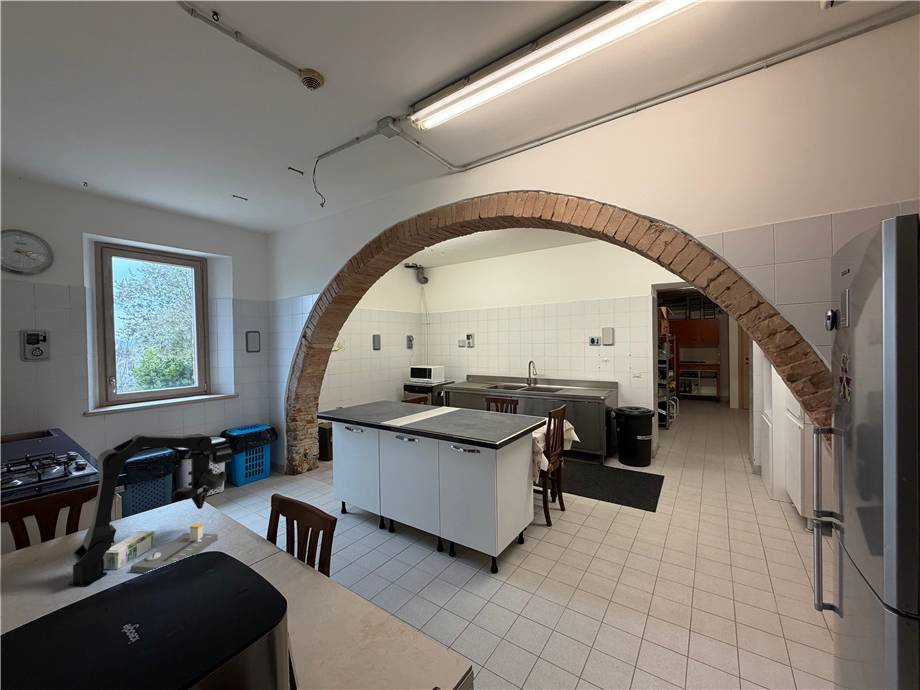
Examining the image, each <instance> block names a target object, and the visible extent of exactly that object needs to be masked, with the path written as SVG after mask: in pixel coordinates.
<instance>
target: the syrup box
mask: <svg viewBox="0 0 920 690" xmlns="http://www.w3.org/2000/svg"><path fill="white" fill-rule="evenodd" d="M154 547H155V531H153V530H139V531H137V532H135V533H134V534H131V535H130V536H129V537H127V538H125V539H123V540H121V541H120V542H118V543H116V544H114V545H111V548H110V549H109V550H108V551H107V552H106V553H105V554H104V556H103V559H104V570H105V569H106V570H118V569H121V568H122V567H123V566H125V565H127V564H128V563H130V562H131V561H133V560H134V559H136V558H137V557H139V556H140V555H142V554H144V553H146V552H148V550H151V549H152V548H154Z"/></svg>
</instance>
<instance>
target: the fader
mask: <svg viewBox="0 0 920 690" xmlns="http://www.w3.org/2000/svg"><path fill="white" fill-rule="evenodd" d="M189 533H190V540H199V539H200V538H202V537H203V534H204V523H199V522H195V523H193V524H192V525H190V526H189Z"/></svg>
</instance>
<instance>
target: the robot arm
mask: <svg viewBox="0 0 920 690" xmlns="http://www.w3.org/2000/svg"><path fill="white" fill-rule="evenodd" d="M143 448H170V449H171V448H172V449H173V448H174V449H175V448H176V449H177V448H179V449H180V448H182V449H187V450H189V451H188V453H186V454H185V455H184V459H187V460H191V461H190V462H191V465H190V466H191V467H190V471H188V472H187V473H188V474H187V475H188V476H190V482H188V484H187V485H188V486H189V487H185V486H184V487H183V486H182V487H181V488H178V489H176V490H175V491H174V492H173V493H172V494H173V495H172V496H173V497H172V499H173V500H185V501H187V500H190V499H191V500H192V502H193V504H194V505H195V507H196V508H197V509H198V510H201V509H203V507H204V504H205V501H206V498H207V495H208V494H209V492H211V491H212V490H217V489H218V488H220V487H223V484H224V482H225V481H227V472H226V471H224V470H223V471H220V472H219V473H218V472H216V473H214V470H213V468H211V467H210V463H212V464H213V465H218V464H223V463H228V462H231V461H232V460H233V451H232V449H231V445H230V444H228V443H226V444H223V445H219V446H215V445H214V443H213V440H212V438H211V437H210V436H209V435H207V434H203V433H193V434H186V435H182V436H181V435H180V436H179V435H177V436H176V435H175V436H173V435H145V434H137V435H134V436H133V437H131V438H130V439H128V440H126V441H123V442H122V443H120V444H118V445H116V446H114V447H113V448H110V449H107V450H104V451H103V452H101V453H99V455H98V457H97V466H98V467H97V469H98V474H99V482H98V483H99V484H98V489H97V494H96V499H95V500H96V501H95V506H94V509H93V510H94V511H93V518H92V521H91V525H90V526H89V528H88V530H87V531H86V534H85V536H84V539H83V541H82V544H81V545H80V546H78V548H77V549H75V550H74V552H73V553H72V556H73V557H74V559H75V561H76V562H75V564H73V565H72V581H70V582H68V583H67V586H74V587H76V586H77V587H88V586H90V585H91V584H93V583H96V581H98V580H100V579H102V578H103V577H105V576H107V575H108V572H106V571H105V569H104V559H103V556H104V554H105V553H106V552H107V551H108V550H109V549H110V548H111V547H112V546H113V545H112V544H115V543H116V542H115V536H116V532H117V529H116V527H114V525H113V524H111V523H110V522H111V517H112V511H113V505H114V500H115V493H116V489H117V488H116V486H117V482H118V478H119V477H120V475H121V474H122V472H123V469H124V467H125V466H126V465H125V464H126V462H127V461H128V460H130V459H131V458H133V457H134V456H135V455H136V454H138V452H140V451H141V450H142V449H143ZM192 450H193V451H192ZM194 451H195V452H194Z"/></svg>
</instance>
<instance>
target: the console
mask: <svg viewBox="0 0 920 690" xmlns="http://www.w3.org/2000/svg"><path fill="white" fill-rule="evenodd" d="M218 540H219V539H218V534H217V533H203V537H202V538H200V539H199V540H190V532H184V533H183V534H181V535H179V536H178V537H176V538H175V539H173V540H172V541H170V542H169V543H167V544H165V545H163V546H162V547H160V548H159V549H157V550H155V551H153V552H152V553H149V554H148V555H146V557H143V558H142V559H140V560H139V561H137V562H136V563H134V564H132V565H131V567H130V572H131V573H136V572H142V573H141V574H146V573H145V572H148V571H150V570H153V569H156V568H159V567H161V566H164V565H167V564H169V563H172V562H174V561H177V560H180V559H182V558H185V557H187V556H190V555H194V554H197V553H198V554H200V553H201V552H202V551H203V550H205V549H206V548H208V547H210V546H211V545H212V544H214V543H215V542H217V541H218ZM198 554H197V555H198Z"/></svg>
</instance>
